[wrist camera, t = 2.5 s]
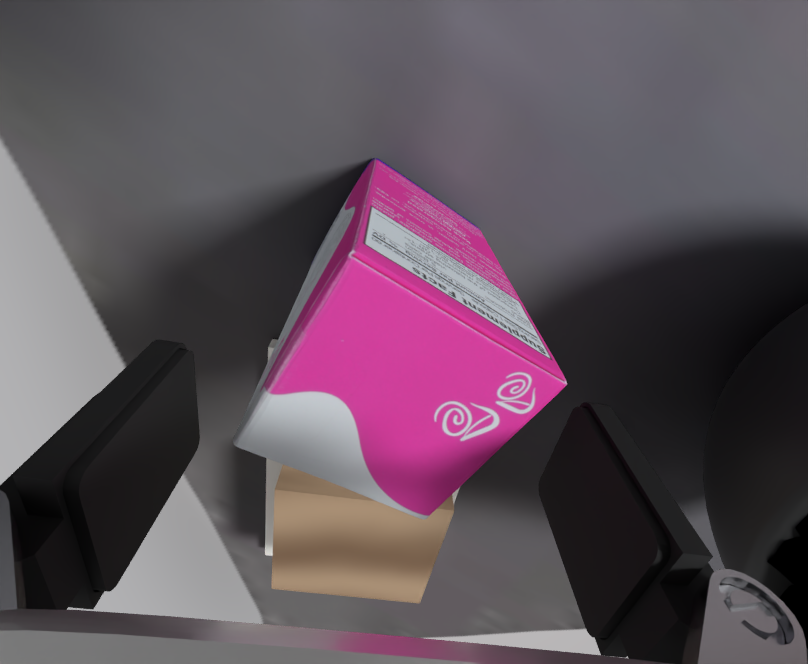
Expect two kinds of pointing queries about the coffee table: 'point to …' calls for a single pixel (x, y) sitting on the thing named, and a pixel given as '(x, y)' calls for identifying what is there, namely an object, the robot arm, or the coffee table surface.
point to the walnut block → (350, 541)
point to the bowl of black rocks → (764, 465)
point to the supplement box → (400, 354)
